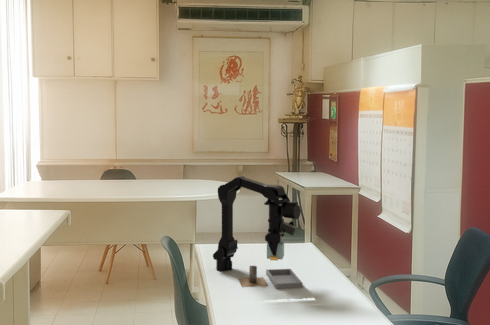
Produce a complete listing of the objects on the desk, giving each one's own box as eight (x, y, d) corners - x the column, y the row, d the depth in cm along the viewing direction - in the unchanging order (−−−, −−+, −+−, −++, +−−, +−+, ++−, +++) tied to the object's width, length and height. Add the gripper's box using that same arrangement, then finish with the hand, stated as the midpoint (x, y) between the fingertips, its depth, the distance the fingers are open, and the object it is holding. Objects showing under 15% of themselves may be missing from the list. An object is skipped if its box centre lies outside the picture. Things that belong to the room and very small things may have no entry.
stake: (241, 289, 199) (242, 271, 199) (237, 280, 210) (238, 263, 209) (268, 288, 201) (268, 270, 200) (263, 279, 212) (263, 262, 211)
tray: (275, 291, 198) (275, 284, 197) (265, 276, 216) (266, 269, 216) (302, 290, 199) (302, 282, 199) (290, 275, 218) (290, 268, 218)
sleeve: (281, 260, 200) (281, 246, 200) (266, 260, 201) (266, 245, 201) (284, 255, 208) (284, 241, 208) (268, 254, 210) (269, 240, 209)
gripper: (293, 221, 194) (292, 260, 195) (297, 212, 212) (296, 248, 213) (264, 220, 196) (264, 259, 197) (271, 212, 214) (271, 247, 215)
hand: (275, 253), depth 206 cm, fingers closed on sleeve, 6 cm apart
